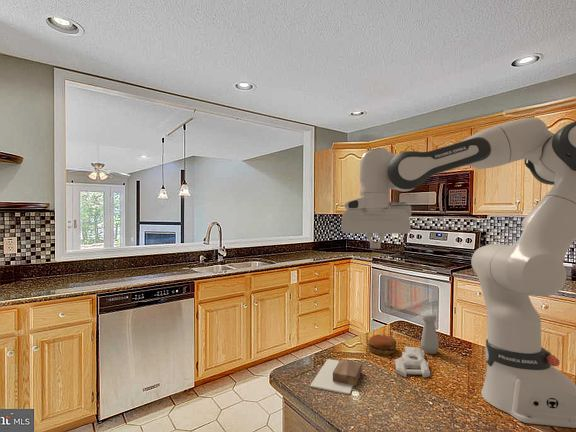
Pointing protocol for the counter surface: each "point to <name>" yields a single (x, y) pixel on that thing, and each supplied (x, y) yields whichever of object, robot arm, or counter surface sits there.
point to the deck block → (347, 372)
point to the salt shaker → (429, 334)
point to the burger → (382, 344)
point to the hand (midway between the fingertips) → (375, 248)
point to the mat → (330, 379)
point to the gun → (412, 362)
